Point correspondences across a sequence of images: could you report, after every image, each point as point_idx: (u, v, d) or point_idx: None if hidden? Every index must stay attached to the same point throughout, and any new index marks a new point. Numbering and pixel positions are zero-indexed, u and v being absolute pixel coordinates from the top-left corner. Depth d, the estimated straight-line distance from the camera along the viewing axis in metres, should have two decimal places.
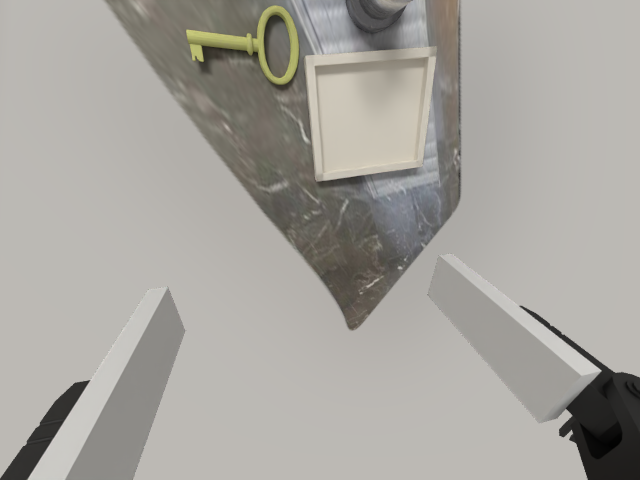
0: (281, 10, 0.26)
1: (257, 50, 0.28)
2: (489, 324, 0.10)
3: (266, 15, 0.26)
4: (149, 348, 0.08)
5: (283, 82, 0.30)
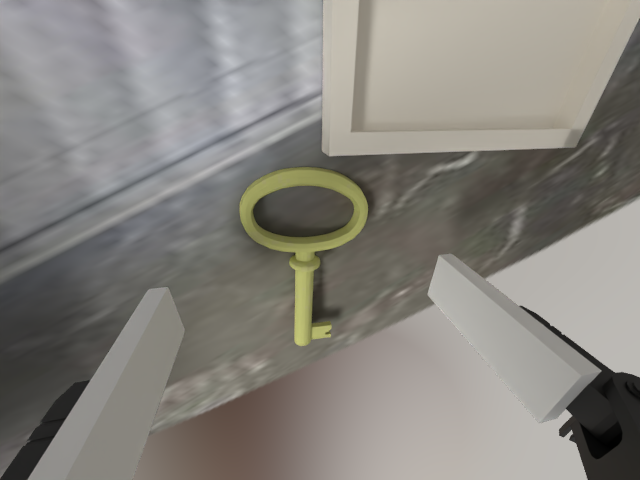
0: (246, 208, 0.12)
1: (314, 251, 0.15)
2: (489, 324, 0.10)
3: (261, 238, 0.13)
4: (149, 348, 0.08)
5: (366, 206, 0.14)
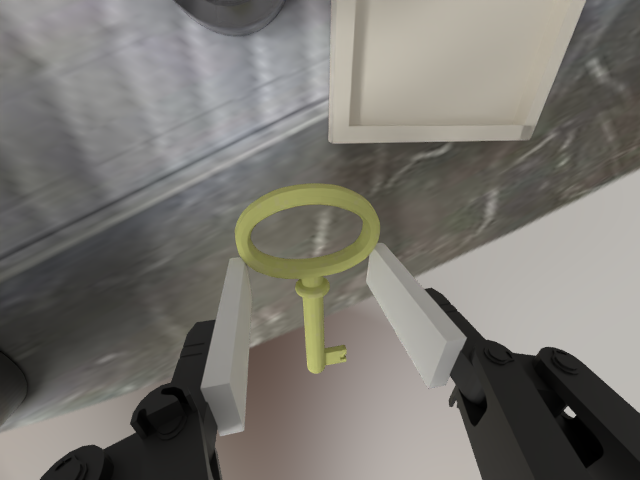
0: (242, 236, 0.11)
1: (321, 275, 0.13)
2: (399, 304, 0.11)
3: (261, 266, 0.12)
4: (243, 301, 0.10)
5: (377, 222, 0.12)
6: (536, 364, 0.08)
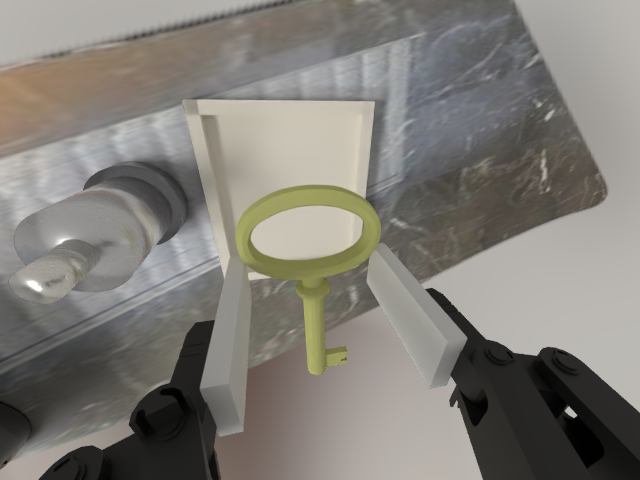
0: (242, 237, 0.11)
1: None
2: (400, 304, 0.11)
3: (261, 268, 0.12)
4: (243, 301, 0.10)
5: (378, 223, 0.12)
6: (537, 364, 0.08)
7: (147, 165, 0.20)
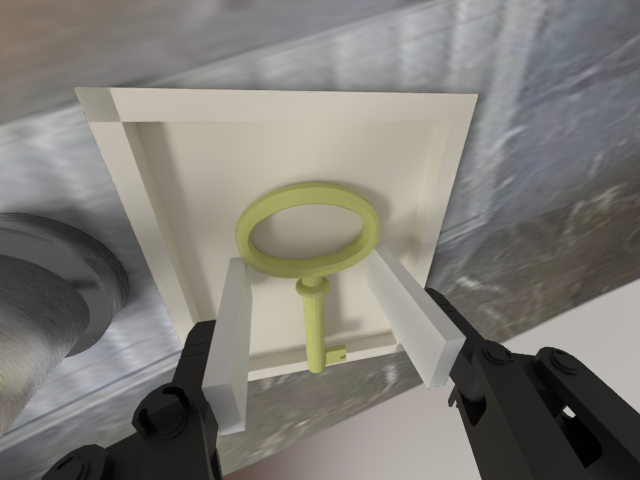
0: (242, 236, 0.11)
1: None
2: (399, 304, 0.11)
3: (261, 266, 0.12)
4: (244, 300, 0.10)
5: (377, 221, 0.12)
6: (536, 364, 0.08)
7: (33, 220, 0.10)
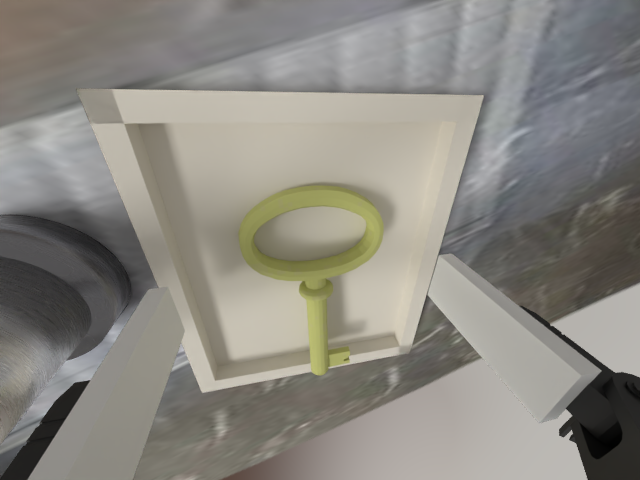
0: (246, 239, 0.11)
1: (325, 277, 0.13)
2: (489, 324, 0.10)
3: (265, 269, 0.12)
4: (149, 348, 0.08)
5: (381, 224, 0.12)
6: None
7: (34, 222, 0.10)
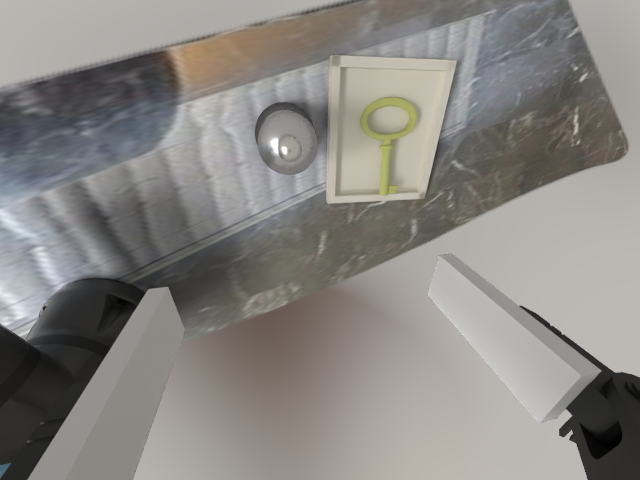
0: (366, 116, 0.29)
1: (391, 140, 0.31)
2: (489, 324, 0.10)
3: (370, 131, 0.30)
4: (149, 348, 0.08)
5: (416, 114, 0.30)
6: None
7: None
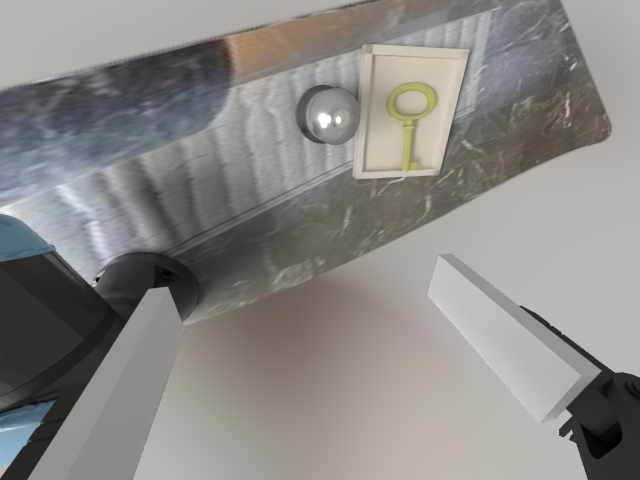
0: (392, 100, 0.34)
1: (413, 121, 0.36)
2: (489, 324, 0.10)
3: (395, 113, 0.34)
4: (149, 348, 0.08)
5: (434, 97, 0.35)
6: None
7: None
